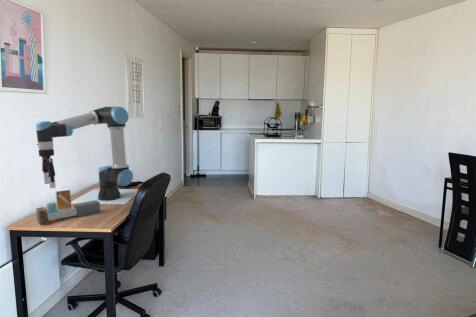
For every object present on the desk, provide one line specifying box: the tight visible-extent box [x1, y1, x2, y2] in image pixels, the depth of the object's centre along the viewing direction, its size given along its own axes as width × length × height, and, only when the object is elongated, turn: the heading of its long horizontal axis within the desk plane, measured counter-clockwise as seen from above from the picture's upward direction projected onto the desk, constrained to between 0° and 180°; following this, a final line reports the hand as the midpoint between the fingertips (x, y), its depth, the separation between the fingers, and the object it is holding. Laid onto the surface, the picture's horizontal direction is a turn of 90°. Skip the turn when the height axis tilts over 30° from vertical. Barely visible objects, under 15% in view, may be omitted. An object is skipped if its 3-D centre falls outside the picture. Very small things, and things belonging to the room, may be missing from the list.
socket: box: [35, 206, 49, 226], centre depth 198 cm, size 4×8×8 cm, turn 40°
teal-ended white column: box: [46, 202, 78, 221], centre depth 204 cm, size 19×5×9 cm, turn 130°
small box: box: [54, 187, 72, 210], centre depth 223 cm, size 8×6×13 cm
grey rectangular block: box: [73, 199, 101, 218], centre depth 213 cm, size 13×7×7 cm, turn 130°
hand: (50, 185), depth 199 cm, fingers open, 13 cm apart
